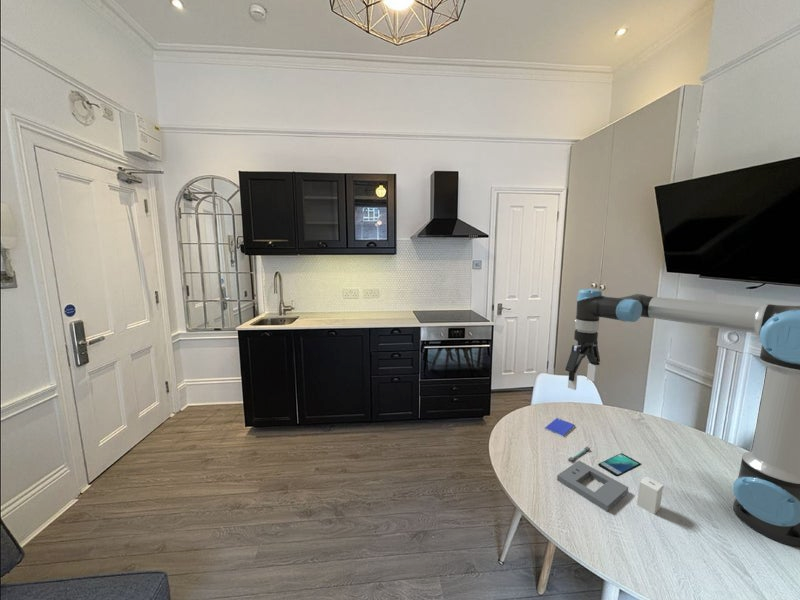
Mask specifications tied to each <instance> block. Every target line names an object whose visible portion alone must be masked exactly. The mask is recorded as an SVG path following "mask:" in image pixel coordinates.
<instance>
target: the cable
mask: <svg viewBox="0 0 800 600" xmlns="http://www.w3.org/2000/svg"><path fill="white" fill-rule="evenodd" d="M589 451H591V447H589V446H584V449H583V450H581V451H580V452H578V453H576V454H575V455H574V456H570V457H568V459H567V461H568V462H570V463H573V462H574V461H575V460H576V459H577V458H579V457H580V456H581V455H583V454H585V453H586V452H589Z"/></svg>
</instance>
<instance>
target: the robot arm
mask: <svg viewBox="0 0 800 600" xmlns="http://www.w3.org/2000/svg"><path fill="white" fill-rule="evenodd" d="M575 315H576V316H575V320H574V322H575V325H574V329H575V330H574V336H573V337H574V338H573V339H574V340H575V341H576V342H577V344H576V345H575V344H573V345H572V346H571V351H570V355H569V357H568V359H567V363H566V366H565V368H564V369H565V371H566V372H568V378H567V379H568V380H567V381H568V383H567V388H569V389H571V390H573V391H576V390H577V384H578V383H577V382H578V372H577V371H578V369H579V367H580V365H581V362H582V360H583V359H584V358H587V359H588V362H589V363H587V371H586V372H587V373H586V380H588V381H591V382H595V381H596V375H597V373H596V372H597V366H600V364H601V363H600V362H601V358H600V352H599V348H598V346H599V345H598V336H599V333H598V332H599V328H600V318H603V319H604V318H605V319H610V320H615V321H621V322H623V323H624V322H625V323H626V322H628V323H629V322H631V323H635V322H638V321H639V319H640V318H649V319H656V320H663V321H670V322H677V323H683V324H691V325H696V326H697V325H698V326H703V327H710V328H717V329H724V330H731V331H732V330H733V331H737V332H738V331H739V332H744V333H752V334H755V335H757V336H758V337H759V339H760V343H761V349H760V354H759V355H760V356H759V360H760V361H761V362H762V363H763V364H764V365H765V366H766V367H767V368H766V372H765V373H766V374H765V377H764V379H765V380H764V384H763V388H762V389H763V390H762V394H761V395H762V396H761V401H760V406H759V412H758V416H757V417H758V418H757V421H756V428H755V433H754V439H753V445H752V448H751V451H748V452H744V453H742V456H741V461H740V467H739V472H738V476H737V479H735V481H734V482H733V487H732V491H733V495H734V497H735V500H734V502H733V507H732V509H733V512H734V514H735V515H736V517H737V518H738V517H739V518H740V519H741V520H740V519H739V518H738V519H739V520H740V521H742V523H744V522H745V523H746V524H747V527H749V526H750V527H749V528H751V529H752V528H753V529H752V530H754V531H755V530H756V532H757V533H759V534H761V535H762V534H763V535H762V536H764V535H765V536H764V537H766V536H767V538H769V539H771V540H774V541H776V542H778V543H781V544H785V545H786V546H787V545H788V546H792V547H796V548H800V305H780V304H770V303H769V304H768V303H767V304H765V305H762V306H751V305H741V304H732V303H724V302H723V303H721V302H720V303H719V302H713V301H711V302H710V301H701V300H691V299H679V298H671V297H662V296H661V297H658V296H650V295H649V296H648V295H646V294H642V293H636V294H631V295H628V296H621V297H613V296H612V297H610V296H604V295H603V293H602V290H601V289H594V288H583V289H579V290H578V292H577V300H576V312H575ZM745 523H744V524H745ZM746 524H745V525H746Z"/></svg>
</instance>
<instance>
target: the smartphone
mask: <svg viewBox="0 0 800 600" xmlns="http://www.w3.org/2000/svg"><path fill="white" fill-rule="evenodd" d="M597 466H598V467H599V468H601V469H604V470H605V471H606V472H607V473H610V474H612V475H613V476H615V477H620V476H621V475H624V474H625V473H628V472H629V471H631V470H634V469H635V468H637V467H640V466H641V463H640V462H639V461H637V460H636V459H634V458H632V457H630V456H628V455H626V454H624V453H622V452H621V453H619V454H615V455H614V456H612V457H609V458H608V459H605V460H603V461H601V462H599V463H598V464H597Z"/></svg>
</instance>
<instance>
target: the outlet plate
mask: <svg viewBox="0 0 800 600" xmlns="http://www.w3.org/2000/svg"><path fill="white" fill-rule="evenodd" d="M556 477H557V478H556V481H558V482H559V483H561V484H562V485H564V486H566V487H567V488H569V489H570V490H572V491H573V492H575V493H576V494H578V495H580V496H581V497H583V498H584V499H586V500H588V501H589V502H591V503H592V504H594V505H596V506H597V507H598V508H601V509H602V510H603V511H605V512H609V511H610V510H611V509H612V508H613V507H614V506H615V505H616V504H618V503H619V502H620V500H621V499H623V498H624V497H625V496H626V495H627V494H629V486H627V485H626V484H623V483H622V482H619V481H618V480H616V479H614V478H612V477H610V476H608V475H607V474H604V473H603V472H602V471H600V470H597V469H596V468H594V467H592V466H590V465H588V464H586V463H585V462H583V461H581V460H577V461H576V462H574V463H573V464H571V465H570V466H569V467H567V468H566V469H564V470H562V471H561V472H559V473H558V474H557V476H556ZM588 477H590V478H591V479H594V480H596V481H597V482H599V483H600V484H603V485H602V486H600V487H599V488H597V490H595V491H593V490H592V489H590V488H589V487H586V486H585V485H583V484H582V482H583V481H584V480H586V479H587V478H588Z"/></svg>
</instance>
